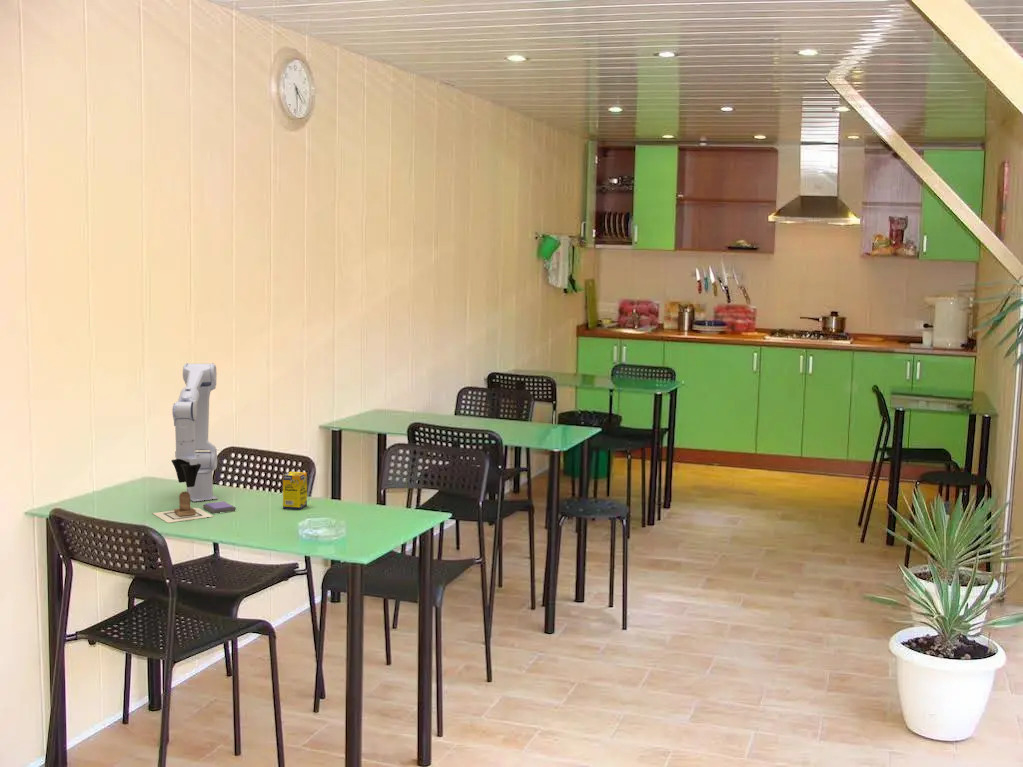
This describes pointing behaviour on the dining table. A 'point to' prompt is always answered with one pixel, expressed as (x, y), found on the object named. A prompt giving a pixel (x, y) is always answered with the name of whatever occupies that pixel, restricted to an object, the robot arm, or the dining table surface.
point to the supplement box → (295, 490)
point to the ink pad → (219, 507)
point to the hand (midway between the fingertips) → (186, 484)
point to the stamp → (184, 506)
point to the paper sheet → (172, 517)
